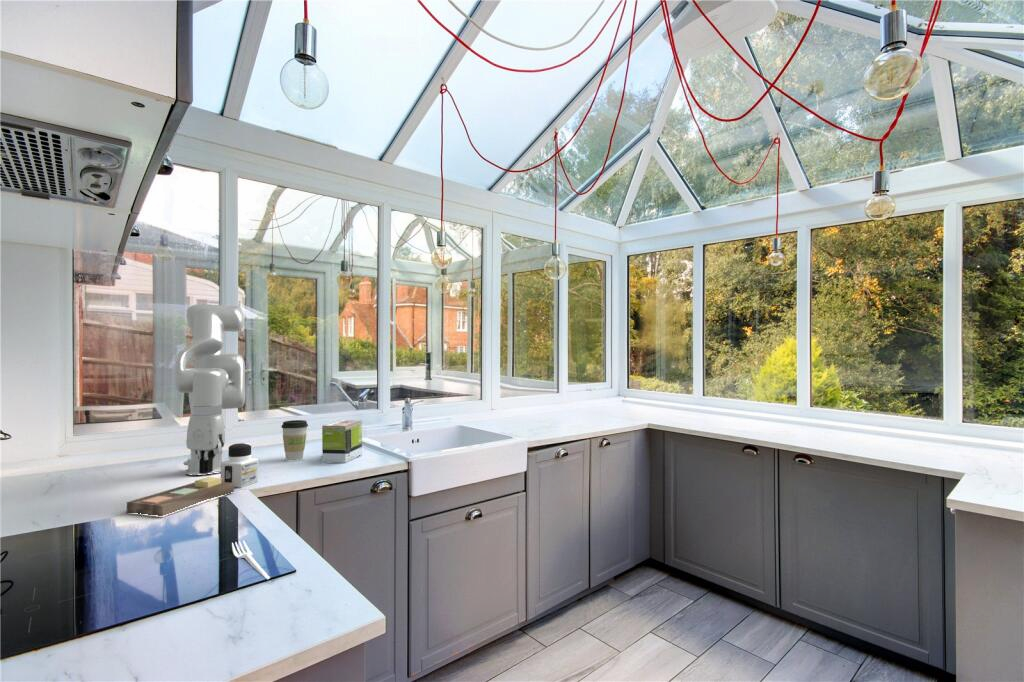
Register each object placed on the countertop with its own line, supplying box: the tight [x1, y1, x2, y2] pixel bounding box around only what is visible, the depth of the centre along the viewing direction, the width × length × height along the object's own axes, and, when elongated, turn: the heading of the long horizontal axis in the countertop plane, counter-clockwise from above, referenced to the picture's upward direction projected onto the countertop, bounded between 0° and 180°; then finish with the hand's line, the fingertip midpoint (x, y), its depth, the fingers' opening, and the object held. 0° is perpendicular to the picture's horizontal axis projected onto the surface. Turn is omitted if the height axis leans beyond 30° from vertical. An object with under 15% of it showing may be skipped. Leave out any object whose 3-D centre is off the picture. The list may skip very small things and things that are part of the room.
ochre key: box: [194, 476, 221, 488], centre depth 147 cm, size 5×5×3 cm
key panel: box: [126, 481, 235, 516], centre depth 139 cm, size 12×23×3 cm, turn 165°
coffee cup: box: [280, 419, 309, 461], centre depth 195 cm, size 10×10×15 cm
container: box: [220, 442, 259, 489], centre depth 158 cm, size 8×8×13 cm
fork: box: [231, 539, 271, 580], centre depth 100 cm, size 3×20×2 cm, turn 44°
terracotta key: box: [142, 496, 173, 504], centre depth 131 cm, size 5×5×3 cm
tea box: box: [321, 419, 363, 464], centre depth 196 cm, size 15×10×15 cm, turn 172°
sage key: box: [170, 488, 198, 495], centre depth 139 cm, size 5×5×3 cm
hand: (206, 472), depth 146 cm, fingers closed
